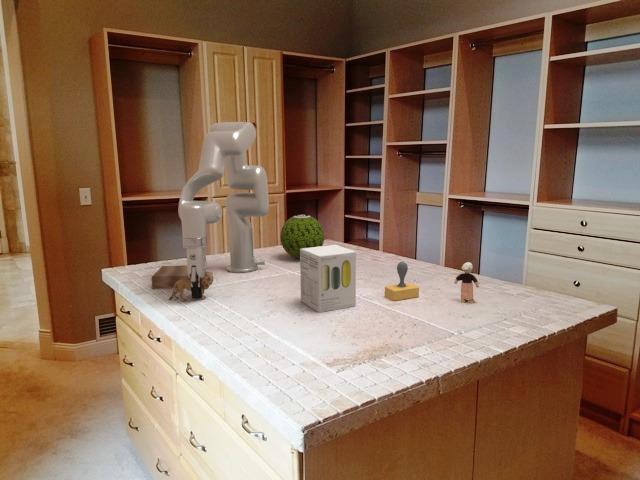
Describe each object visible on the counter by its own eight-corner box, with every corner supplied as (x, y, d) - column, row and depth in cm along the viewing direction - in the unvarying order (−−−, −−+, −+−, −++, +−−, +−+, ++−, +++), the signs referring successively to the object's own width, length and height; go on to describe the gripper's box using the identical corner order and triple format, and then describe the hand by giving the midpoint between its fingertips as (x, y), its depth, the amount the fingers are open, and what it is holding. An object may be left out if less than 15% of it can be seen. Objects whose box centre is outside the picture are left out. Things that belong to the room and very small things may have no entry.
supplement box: (318, 313, 139) (318, 256, 136) (300, 301, 151) (299, 248, 148) (356, 306, 145) (356, 251, 142) (335, 295, 157) (335, 244, 154)
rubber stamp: (409, 292, 159) (409, 258, 157) (419, 297, 154) (420, 262, 151) (384, 296, 155) (384, 261, 153) (393, 301, 150) (394, 265, 147)
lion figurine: (213, 294, 159) (211, 268, 158) (215, 298, 154) (214, 272, 153) (168, 299, 154) (166, 272, 152) (169, 304, 149) (167, 276, 147)
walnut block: (205, 277, 183) (204, 264, 182) (198, 288, 167) (197, 275, 167) (163, 278, 182) (162, 266, 181) (152, 290, 166) (151, 276, 165)
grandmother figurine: (478, 300, 150) (480, 261, 147) (478, 304, 146) (480, 264, 144) (453, 298, 152) (455, 260, 150) (452, 301, 149) (454, 262, 146)
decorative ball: (324, 263, 202) (324, 217, 199) (278, 263, 203) (277, 217, 199) (324, 253, 222) (324, 211, 218) (282, 253, 222) (281, 212, 218)
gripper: (202, 246, 143) (206, 303, 147) (210, 237, 160) (212, 288, 163) (177, 247, 143) (181, 304, 146) (187, 237, 159) (191, 289, 163)
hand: (198, 295), depth 155 cm, fingers closed on lion figurine, 4 cm apart
